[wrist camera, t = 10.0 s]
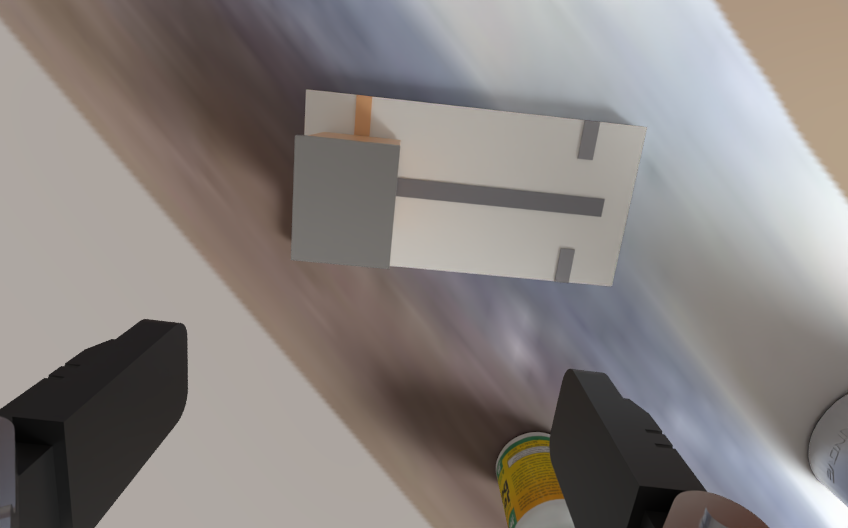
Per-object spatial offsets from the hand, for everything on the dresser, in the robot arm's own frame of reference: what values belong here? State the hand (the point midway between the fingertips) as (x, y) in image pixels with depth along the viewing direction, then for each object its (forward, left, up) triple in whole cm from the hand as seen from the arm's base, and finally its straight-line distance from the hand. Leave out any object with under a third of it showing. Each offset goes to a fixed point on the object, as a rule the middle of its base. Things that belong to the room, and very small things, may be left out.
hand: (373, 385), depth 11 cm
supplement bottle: (-11, +16, -20) cm, 28 cm away
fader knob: (+2, -2, -18) cm, 18 cm away
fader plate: (-4, -2, -20) cm, 20 cm away
